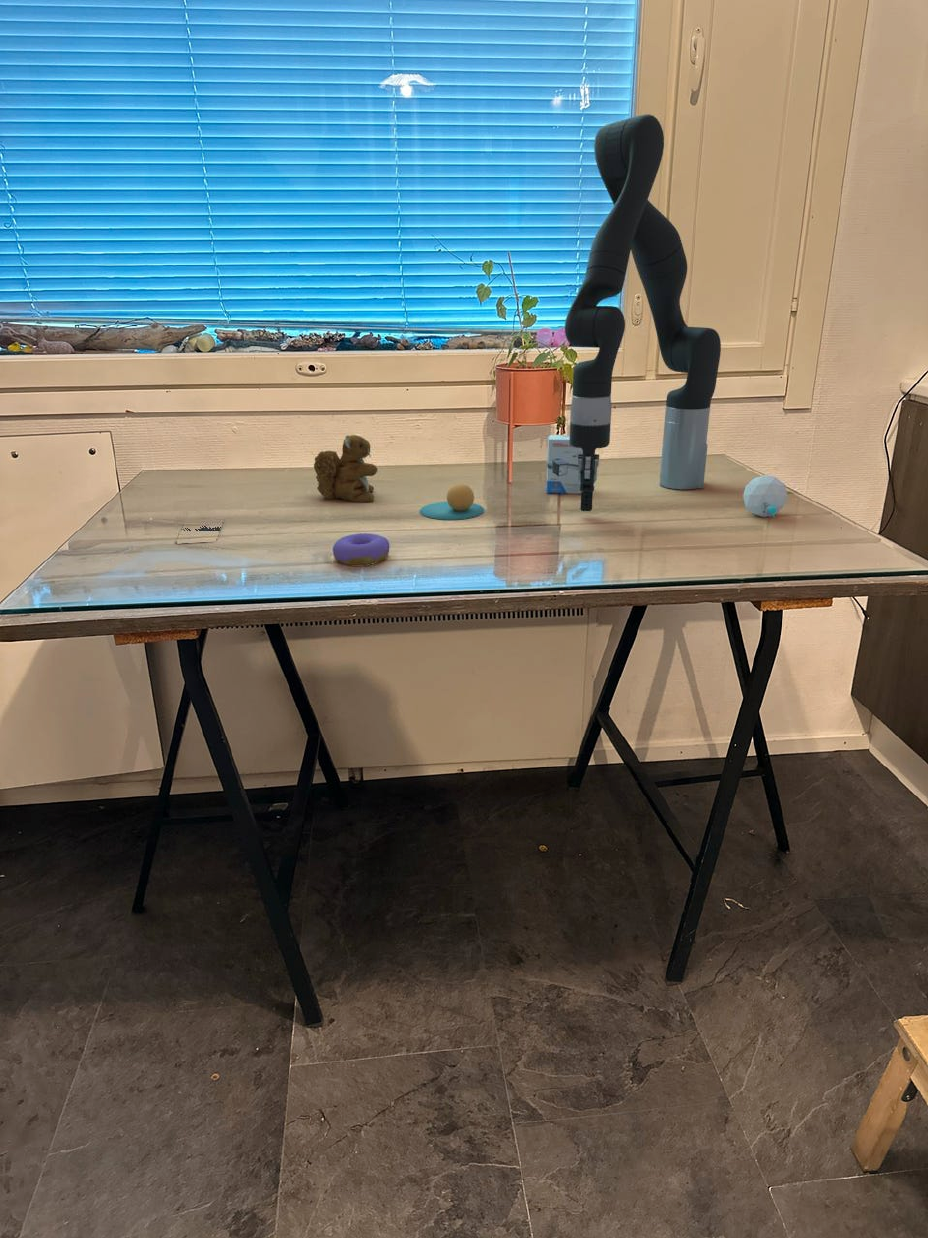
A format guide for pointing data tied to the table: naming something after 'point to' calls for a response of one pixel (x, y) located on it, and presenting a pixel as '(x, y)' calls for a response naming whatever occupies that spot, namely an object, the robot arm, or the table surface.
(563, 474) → the ink box
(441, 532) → the table surface
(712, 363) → the robot arm
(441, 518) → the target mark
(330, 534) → the table surface
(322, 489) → the stuffed squirrel
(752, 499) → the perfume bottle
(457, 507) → the ball
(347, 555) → the donut
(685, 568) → the table surface
